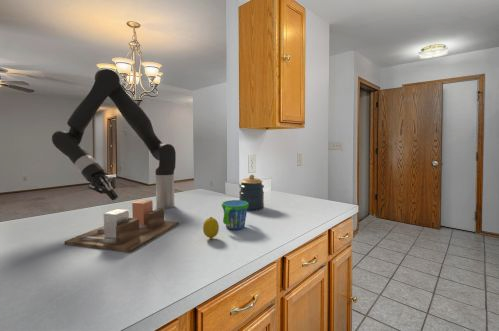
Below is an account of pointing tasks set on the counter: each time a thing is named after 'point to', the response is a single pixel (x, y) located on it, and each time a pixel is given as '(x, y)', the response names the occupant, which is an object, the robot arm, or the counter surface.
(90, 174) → the robot arm
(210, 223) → the lemon
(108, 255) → the counter surface
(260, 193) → the canister
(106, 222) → the steel slider
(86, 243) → the board
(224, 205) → the snack cup
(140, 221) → the terracotta slider
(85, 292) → the counter surface
